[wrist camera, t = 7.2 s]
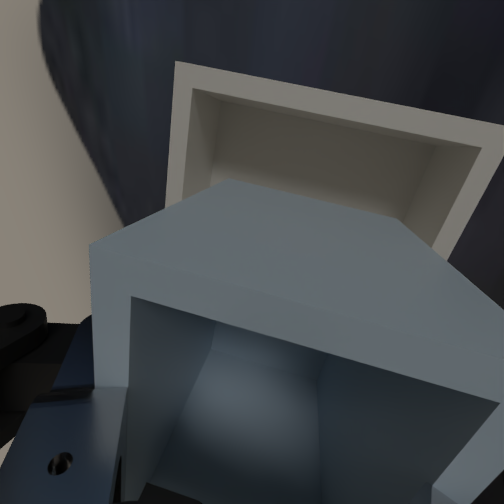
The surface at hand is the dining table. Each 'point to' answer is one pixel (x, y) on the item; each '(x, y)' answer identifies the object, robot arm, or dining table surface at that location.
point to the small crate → (295, 354)
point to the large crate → (330, 150)
